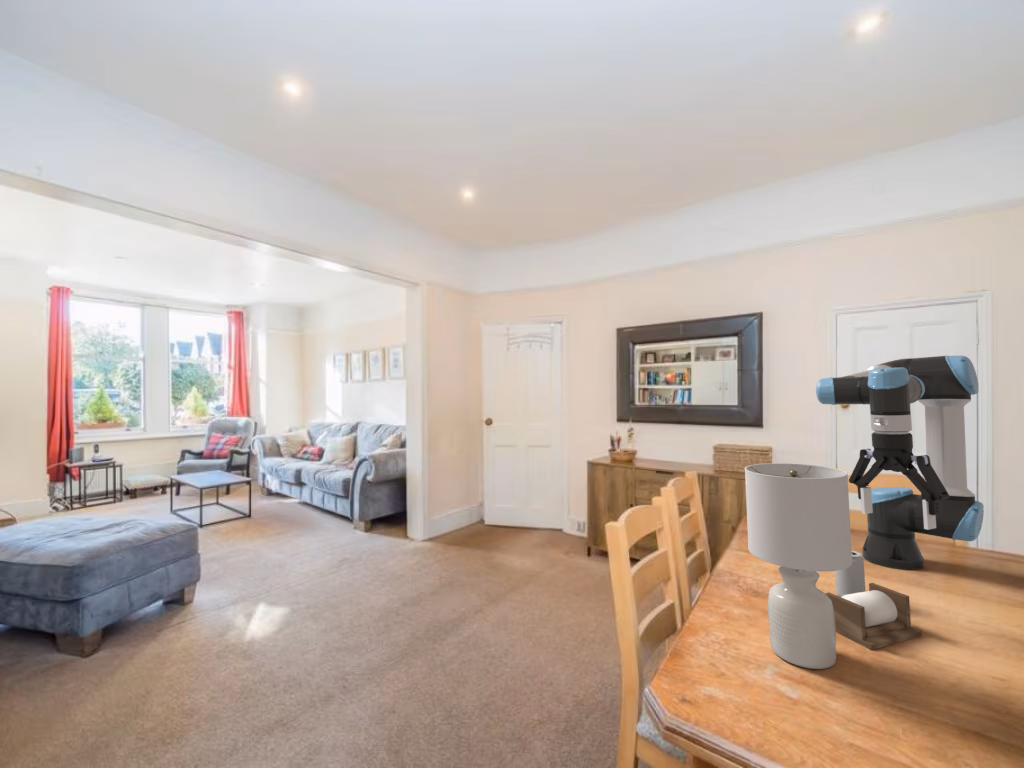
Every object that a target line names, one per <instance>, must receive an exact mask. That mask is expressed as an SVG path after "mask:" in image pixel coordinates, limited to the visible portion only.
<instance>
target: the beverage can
mask: <svg viewBox="0 0 1024 768" xmlns="http://www.w3.org/2000/svg"><path fill="white" fill-rule="evenodd" d="M851 551H852V565H851V566H850V567H848V568H846V569H843V570H838V571H834V577H835V592H836V594H837V596H839V597H842V596H843V595H848V594H854V593H860V592H866V579H865V577H866V576H865V558H863V555H862V552H861V553H860V552H858V551H855V550H852V549H851Z"/></svg>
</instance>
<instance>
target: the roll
mask: <svg viewBox="0 0 1024 768" xmlns="http://www.w3.org/2000/svg"><path fill="white" fill-rule="evenodd" d="M842 598H844V599H846V600H849V601H851V602H853V603H856V604H858V605H861V606H863V607H864V609H865V628H866V627H871V626H876V625H881V624H886V623H890V622H893V621H895V619H896V618H897V608H896V606H895V604H894V602H893V601H892V599H891V598H890V597H889V596H887V595H886V594H885V593H883V592H881V591H877V590H872V591H869V590H867V591H866V590H865V592H860V593H854V594H848V595H843V596H842Z"/></svg>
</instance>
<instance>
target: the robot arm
mask: <svg viewBox="0 0 1024 768" xmlns="http://www.w3.org/2000/svg"><path fill="white" fill-rule="evenodd" d="M979 389H980V388H979V380H978V376H977V373H976V369H975V366H974V363H973V362H972V360H971V358H969V356H966V355H941V356H939V355H938V356H928V357H927V356H925V357H913V358H912V357H911V358H900V359H894V360H890V361H886V362H882V363H879V364H876V365H872V366H870V367H868V368H867V369H866V370H865V371H861V372H857V373H853V374H849V375H846V376H840V377H839V376H838V377H831V376H830V377H825V378H820V379H819V380H818V381H817V382H816V387H815V393H816V394H815V395H816V398H817V400H818V402H819V403H820V404H822V405H832V406H836V405H869V411H870V428H871V430H872V431H873V432H872V433H871V445H872V448H873V450H872V449H871V448H864V449H860V450H859V457H858V460H857V462H856V464H855V466H854V468H853V470H852V471H851V472H852V473H851V475H850V476H849V478H848V483H850V484H853V485H855V486H856V488H857V497H858V500H860V502H861V504H860V505H861V514H863V515H866V520H867V521H866V522H867V535H866V538H865V541H864V544H863V547H862V548H861V554H862V558H863V559H864V560H866V561H868V562H870V563H872V564H876V565H879V566H884V567H886V568H893V569H899V570H919V569H923V568H924V567H925V559H924V556H923V554H922V552H921V550H920V547H919V545H918V543H917V540H916V534H915V533H917V534H921V535H922V534H923V535H929V536H935V537H938V538H939V537H940V538H944V539H945V538H946V539H950V540H953V541H956V540H957V541H963V542H974V541H975V540H977V539H978V537H979V535H980V533H981V530H982V526H983V522H984V521H983V520H984V513H985V510H984V504H983V503H982V502H980V501H979V500H976V494H975V493H974V492H972V491H971V490H969V488H968V472H967V452H966V451H967V450H966V449H967V448H966V447H967V445H966V422H965V421H966V419H965V406H966V405H967V404H969V403H970V402H971V401H972V396H974V395H977V394H978V393H979V391H980V390H979ZM917 401H918V402H919V403H920V404H921V405H923V406H924V419H925V420H924V421H925V426H924V427H925V447H926V448H925V449H926V454H922V455H914V453H913V449H914V448H913V447H914V440H913V439H914V438H913V434H912V433H911V431H912V430H913V424H912V422H913V421H912V412H911V404H914V403H916V402H917ZM872 458H873V459H874V460H875V461H874V463H873V464H872V465H871V466H870V468H869V469H868V466H869V464H870V462H871V460H872ZM913 463H914V464H915V465H917V468H918V469H917V468H916V467H915V465H914V464H913ZM867 469H868V471H866V470H867ZM918 470H919V472H920V473H919V472H918ZM882 471H892V472H895V473H901V474H902V475H903V476H906V478H907V479H908V480H909V481H910V482H911V483H912V484H913V485H914V486H915V488H916V489H917V490H918V491H919V492H920V494H918V493H917V494H915V493H914V491H913V489H912V488H910V487H904V486H903V487H902V486H884V487H883V486H882V487H874V488H872V486H870V483H872V481H873V480H874V479H876V477H877V476H878V475H879V474H881V472H882Z"/></svg>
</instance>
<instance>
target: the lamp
mask: <svg viewBox="0 0 1024 768" xmlns="http://www.w3.org/2000/svg"><path fill="white" fill-rule="evenodd" d="M848 477H849V474H848V472H847V471H846V470H843V469H839V468H835V467H830V466H823V465H816V464H804V463H789V462H788V463H785V462H784V463H783V462H782V463H780V462H777V463H774V462H772V463H770V462H769V463H757V464H756V463H755V464H751V465H747V466H745V467H744V478H745V480H744V481H745V500H746V501H745V503H746V505H745V506H746V523H747V524H746V525H747V545H748V546H747V547H748V548H747V549H748V552H749V553H750V554H751V555H752V556H754V557H755V558H757V559H760V560H762V561H764V562H766V563H769V564H771V565H776V566H779V567H778V569H777V570H778V572H779V574H780V576H781V578H782V581H781V582H779V583H776V584H774V585H773V586H771V587H770V589H769V592H768V597H767V616H768V619H767V620H768V630H769V640H770V648H771V649H772V651H773V652H774V653H775V654H776V655H777V656H778V657H779V658H780V659H782V660H783V661H785V662H787V663H790V664H792V665H794V666H798V667H801V668H805V669H813V670H824V669H830V668H831V667H832V666H834V665H835V664H836V661H837V632H836V626H835V615H834V608H833V604H832V601H831V599H830V598H829V597H828V595H827V594H826V592H824V591H823V590H821V589H819V588H818V586H817V582H818V580H819V579H820V574H819V572H835V571H838V570H843V569H846V568H848V567H850V566H851V565H852V551H853V550H852V536H851V518H850V517H851V515H850V499H849V498H850V497H849V495H850V494H849V478H848ZM851 550H852V551H851Z"/></svg>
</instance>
